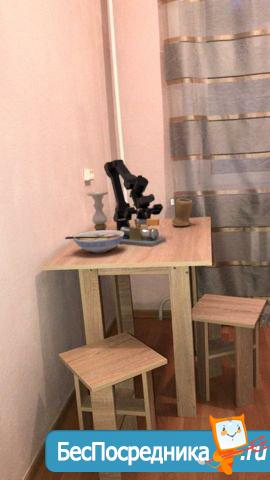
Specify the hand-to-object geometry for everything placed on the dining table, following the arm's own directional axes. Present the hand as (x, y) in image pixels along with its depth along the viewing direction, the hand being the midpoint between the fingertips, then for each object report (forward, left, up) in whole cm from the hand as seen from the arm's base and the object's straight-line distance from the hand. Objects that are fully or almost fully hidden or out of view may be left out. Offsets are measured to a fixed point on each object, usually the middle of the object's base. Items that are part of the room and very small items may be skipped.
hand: (149, 225), depth 198 cm
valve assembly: (-5, -1, -8) cm, 9 cm away
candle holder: (-27, +3, -8) cm, 28 cm away
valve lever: (-1, -1, +1) cm, 2 cm away
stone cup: (+5, +43, -8) cm, 44 cm away
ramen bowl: (-18, -19, -8) cm, 27 cm away
